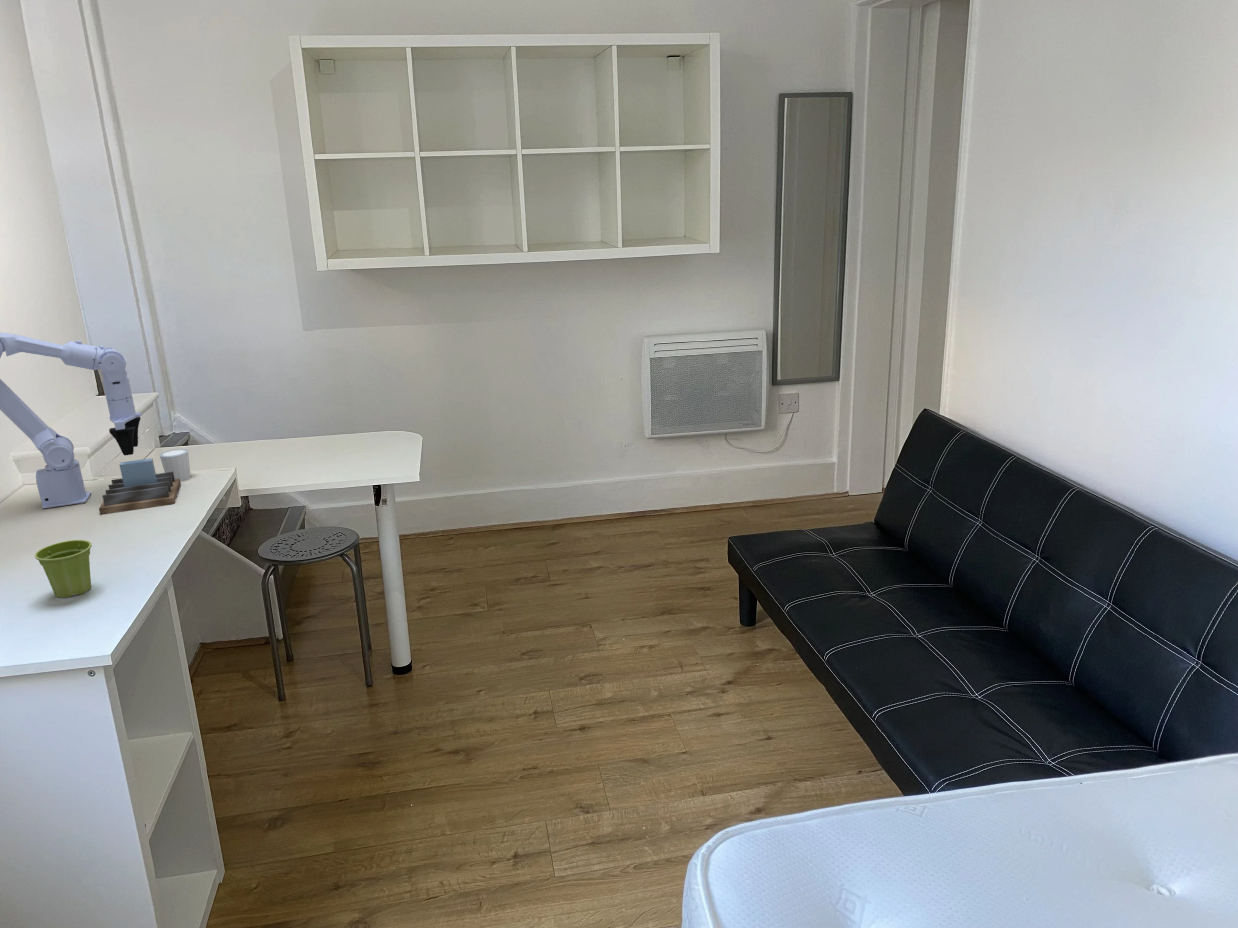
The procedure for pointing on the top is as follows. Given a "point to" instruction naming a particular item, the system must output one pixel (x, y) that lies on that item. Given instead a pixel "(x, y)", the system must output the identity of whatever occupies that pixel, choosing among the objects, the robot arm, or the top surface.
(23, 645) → the top surface
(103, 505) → the rack
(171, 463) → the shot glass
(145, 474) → the block
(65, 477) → the robot arm
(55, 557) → the plant pot
